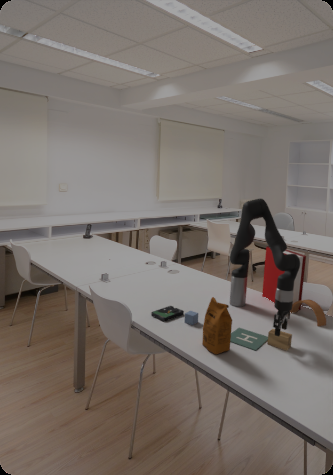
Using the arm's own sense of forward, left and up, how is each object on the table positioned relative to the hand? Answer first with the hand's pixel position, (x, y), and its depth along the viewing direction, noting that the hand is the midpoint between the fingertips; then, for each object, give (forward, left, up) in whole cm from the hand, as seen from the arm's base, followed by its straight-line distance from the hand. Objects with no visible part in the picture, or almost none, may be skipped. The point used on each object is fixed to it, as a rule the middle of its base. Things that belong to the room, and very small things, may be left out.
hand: (280, 332), depth 160 cm
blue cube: (+6, -44, -6) cm, 45 cm away
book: (-54, -20, -6) cm, 58 cm away
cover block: (0, 0, -6) cm, 6 cm away
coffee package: (+22, -21, -6) cm, 31 cm away
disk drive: (+7, -59, -7) cm, 60 cm away
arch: (-40, 0, -7) cm, 41 cm away
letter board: (+4, -14, -6) cm, 16 cm away
